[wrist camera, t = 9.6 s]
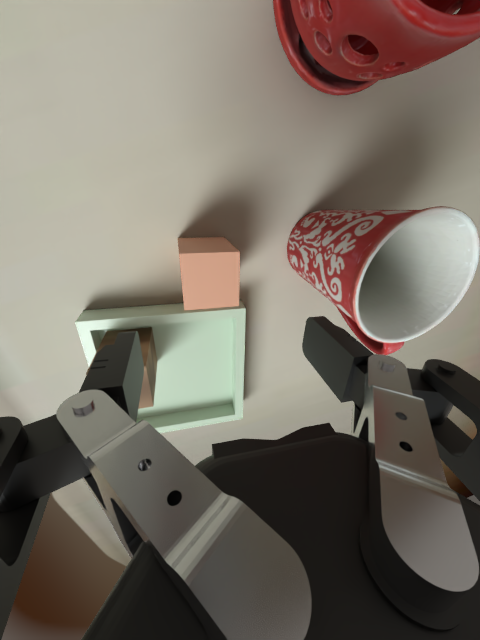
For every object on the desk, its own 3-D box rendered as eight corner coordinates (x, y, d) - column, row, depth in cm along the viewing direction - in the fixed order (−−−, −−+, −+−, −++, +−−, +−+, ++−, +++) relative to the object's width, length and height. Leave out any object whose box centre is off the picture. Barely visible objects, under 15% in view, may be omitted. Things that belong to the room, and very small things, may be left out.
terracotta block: (177, 237, 25) (179, 253, 18) (224, 237, 25) (239, 251, 19) (181, 282, 27) (184, 310, 20) (224, 280, 27) (239, 306, 21)
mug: (270, 213, 25) (353, 233, 14) (352, 188, 26) (497, 187, 15) (289, 319, 32) (357, 396, 20) (355, 296, 32) (458, 357, 21)
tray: (83, 310, 25) (75, 321, 23) (240, 298, 29) (245, 308, 27) (116, 424, 33) (112, 441, 30) (238, 404, 36) (242, 418, 34)
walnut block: (106, 331, 26) (86, 373, 20) (151, 327, 27) (145, 366, 21) (115, 366, 28) (99, 414, 22) (157, 361, 29) (153, 406, 23)
